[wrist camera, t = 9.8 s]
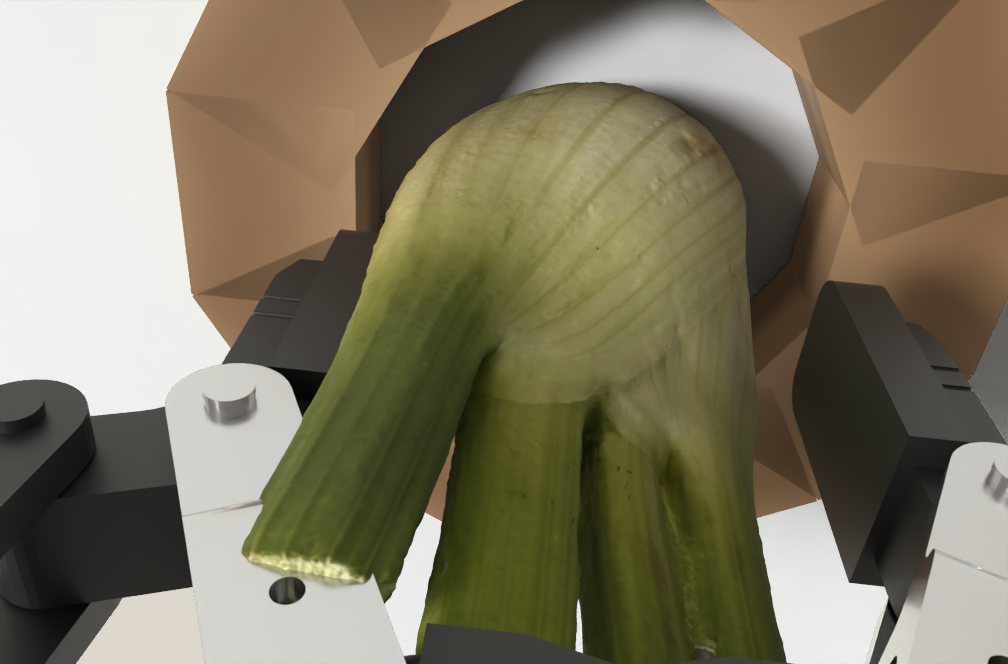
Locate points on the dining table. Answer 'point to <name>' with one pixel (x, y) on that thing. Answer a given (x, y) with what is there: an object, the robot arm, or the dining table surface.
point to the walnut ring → (748, 4)
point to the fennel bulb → (549, 389)
